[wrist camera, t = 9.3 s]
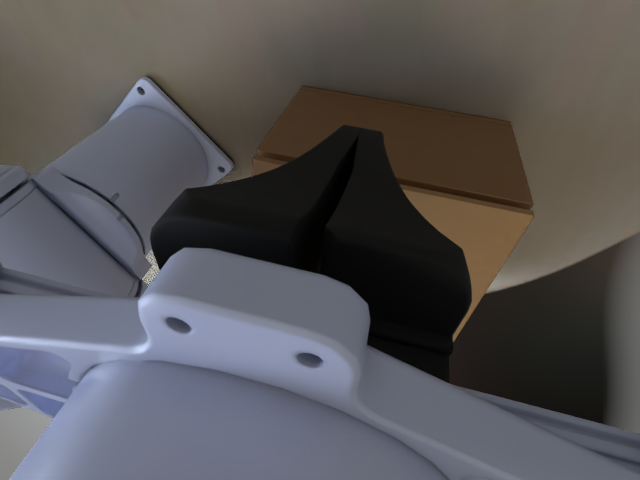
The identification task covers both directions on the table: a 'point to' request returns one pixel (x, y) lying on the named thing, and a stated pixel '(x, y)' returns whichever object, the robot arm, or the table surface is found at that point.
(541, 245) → the table surface
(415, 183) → the carton
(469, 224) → the flap
